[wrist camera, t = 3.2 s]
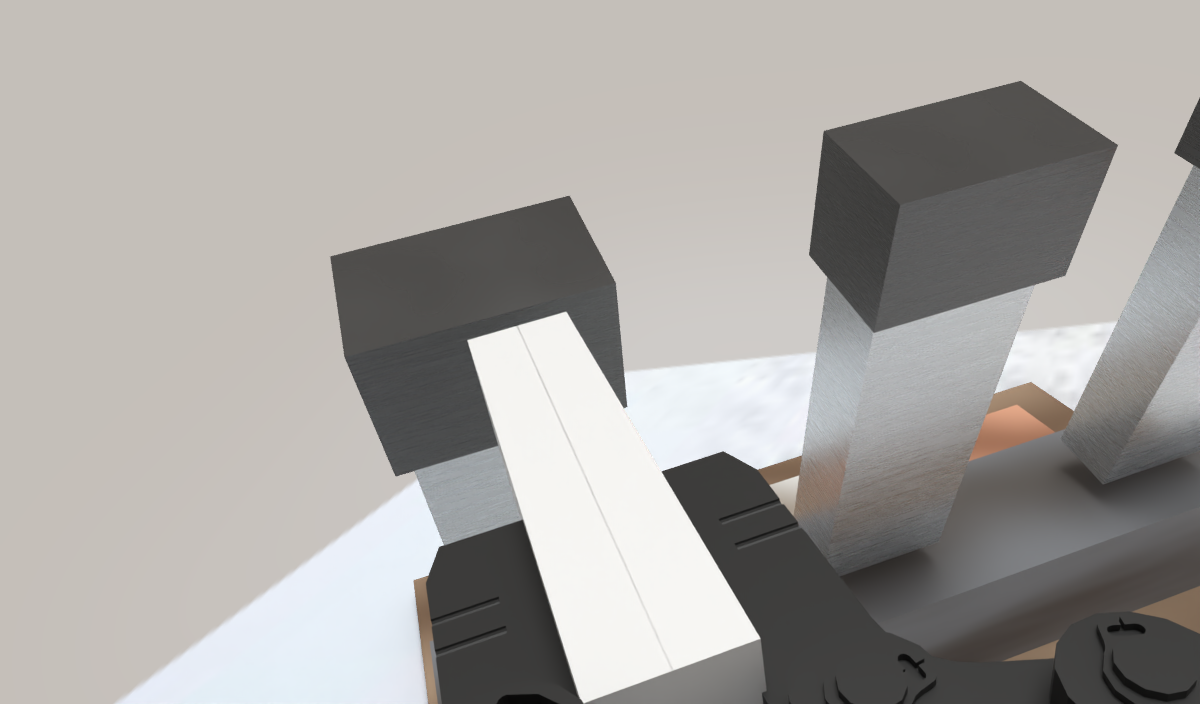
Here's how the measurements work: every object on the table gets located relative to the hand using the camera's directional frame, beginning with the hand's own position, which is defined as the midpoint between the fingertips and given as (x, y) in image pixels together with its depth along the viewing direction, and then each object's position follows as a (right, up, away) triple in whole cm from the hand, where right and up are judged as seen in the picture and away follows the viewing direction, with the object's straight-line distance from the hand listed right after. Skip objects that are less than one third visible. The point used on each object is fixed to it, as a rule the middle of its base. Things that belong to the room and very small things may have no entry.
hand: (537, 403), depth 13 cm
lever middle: (+9, -5, +14) cm, 18 cm away
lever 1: (0, -8, +13) cm, 15 cm away
